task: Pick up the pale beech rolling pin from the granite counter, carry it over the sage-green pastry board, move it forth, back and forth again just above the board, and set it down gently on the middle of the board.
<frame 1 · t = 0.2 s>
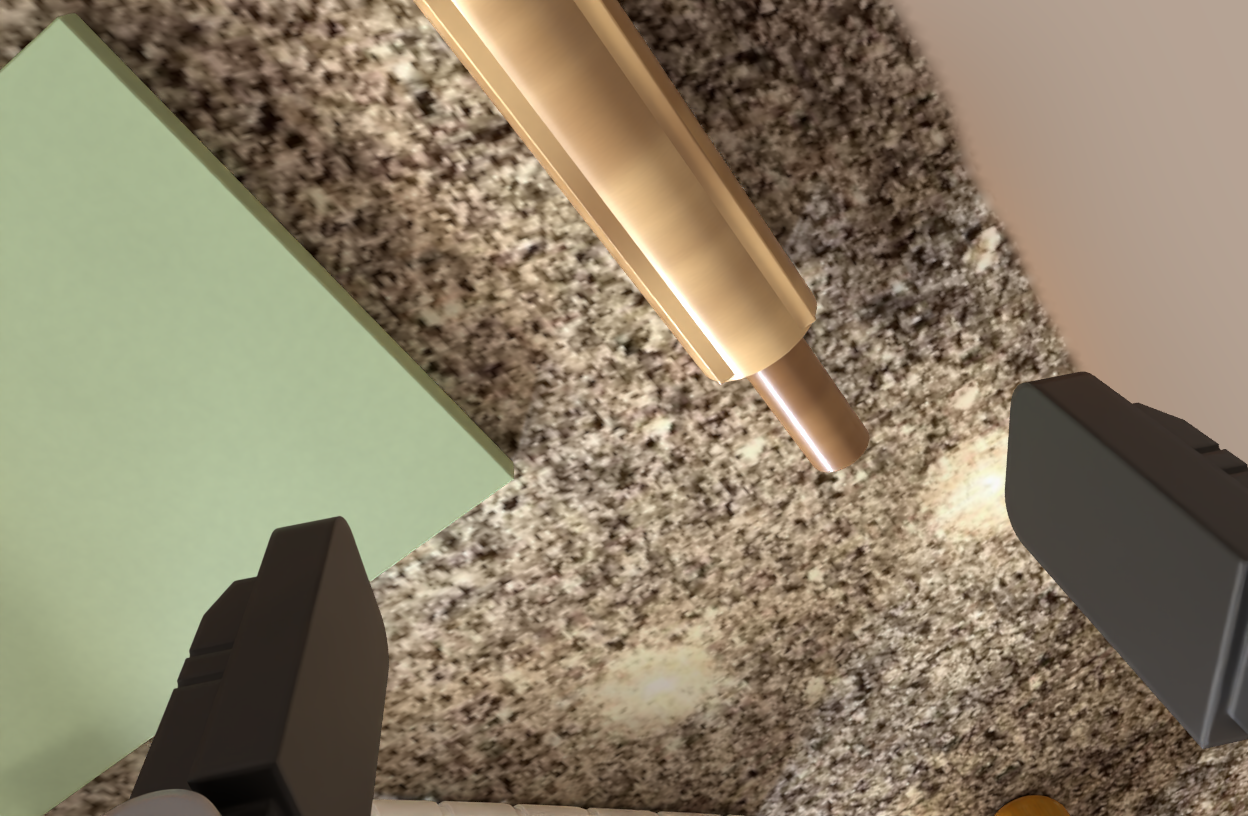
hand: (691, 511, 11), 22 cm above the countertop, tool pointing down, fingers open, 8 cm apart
pastry board: (21, 514, 34), on the countertop
rolling pin: (615, 132, 30), on the countertop
unicorn horn: (541, 815, 45), on the countertop
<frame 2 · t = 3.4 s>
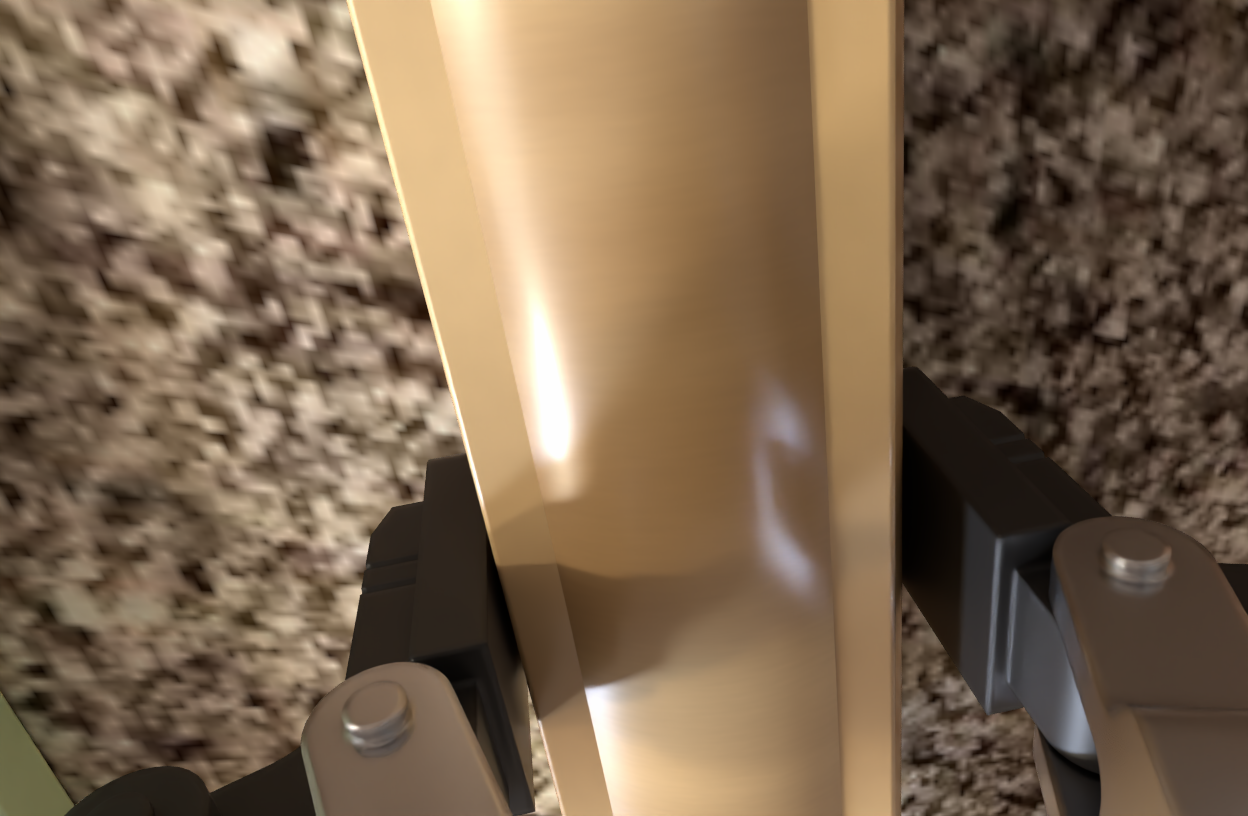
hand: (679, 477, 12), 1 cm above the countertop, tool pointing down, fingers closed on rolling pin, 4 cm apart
rolling pin: (692, 421, 13), on the countertop, tilted 10°, touching gripper
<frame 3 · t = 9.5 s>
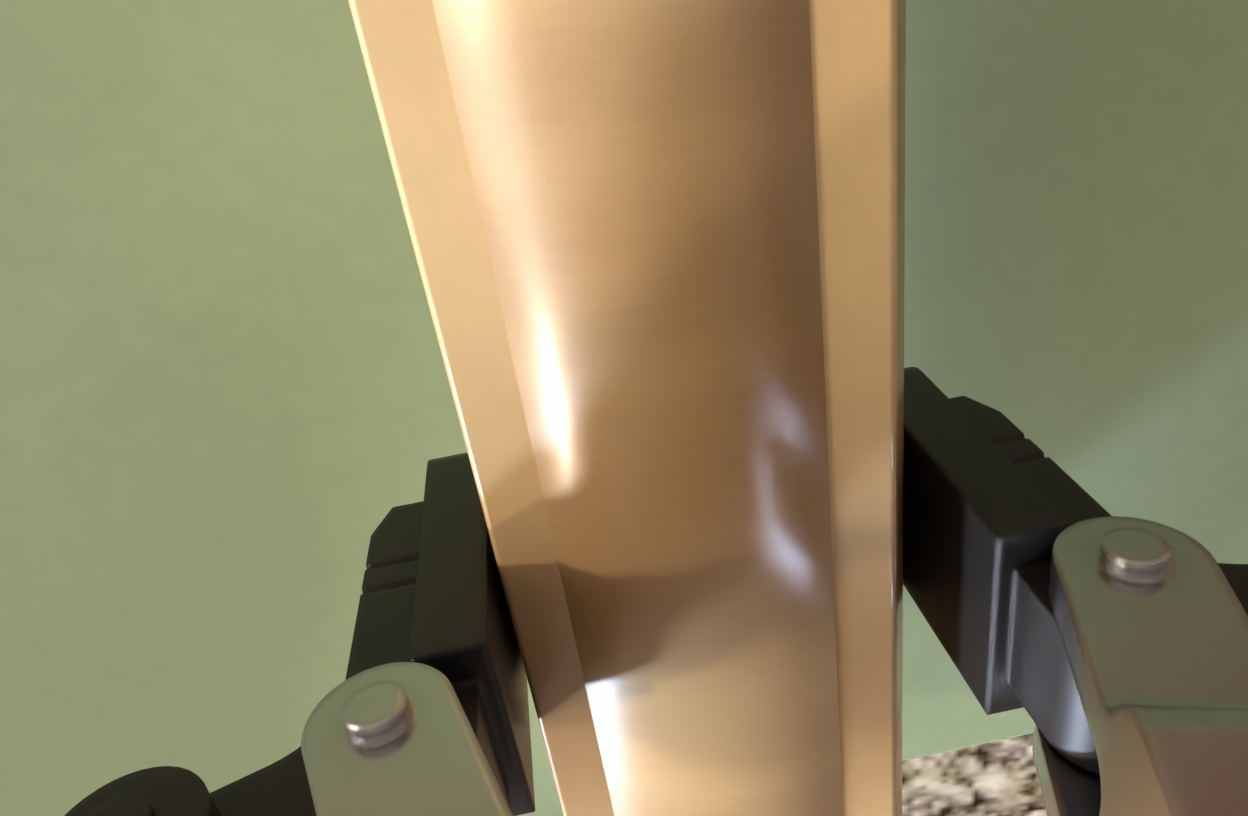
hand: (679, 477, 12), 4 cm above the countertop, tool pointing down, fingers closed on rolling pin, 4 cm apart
pastry board: (455, 376, 15), on the countertop
rolling pin: (694, 423, 13), point 3 cm above the countertop, tilted 10°, touching gripper
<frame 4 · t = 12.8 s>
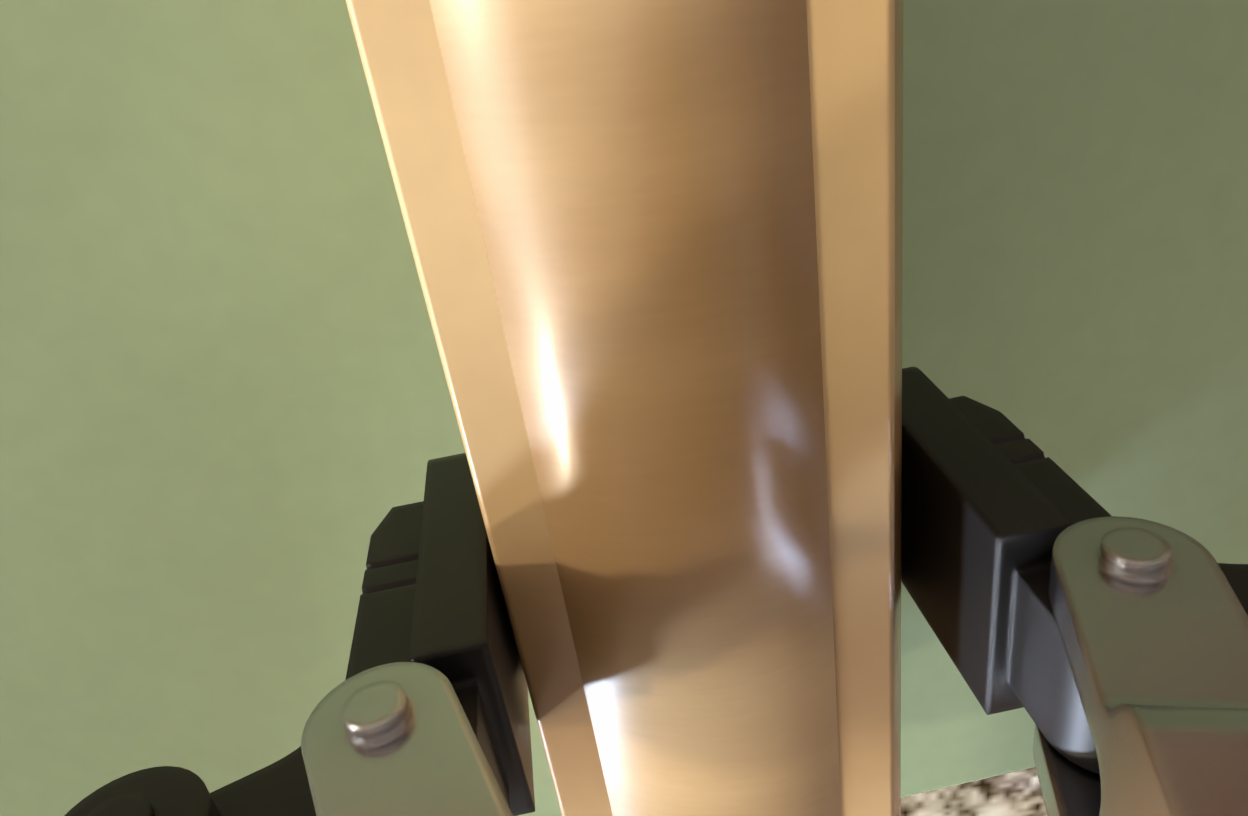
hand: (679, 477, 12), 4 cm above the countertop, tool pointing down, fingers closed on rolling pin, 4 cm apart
pastry board: (442, 418, 15), on the countertop
rolling pin: (692, 424, 13), point 2 cm above the countertop, tilted 11°, touching gripper
when the fingers open (2 cm above the countertop, at t = 15.6 s): rolling pin stays where it is, resting on pastry board.
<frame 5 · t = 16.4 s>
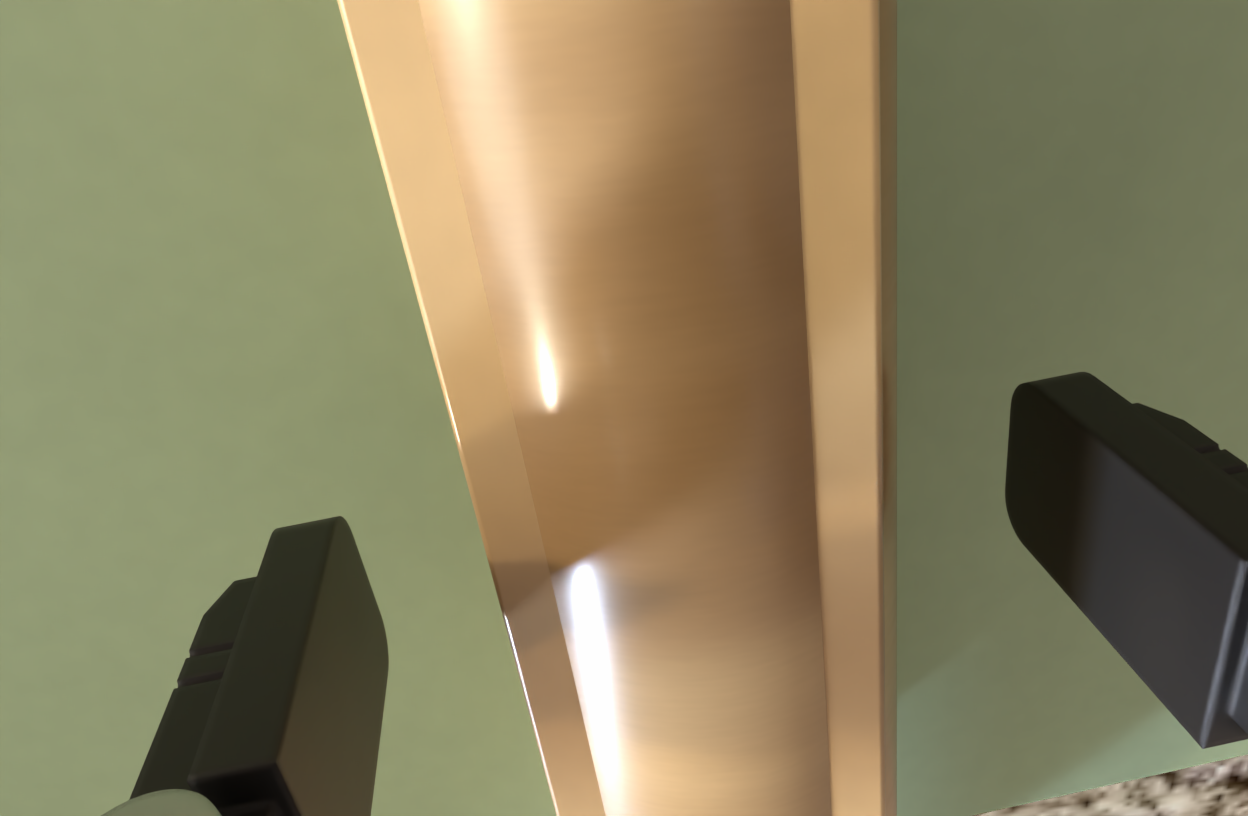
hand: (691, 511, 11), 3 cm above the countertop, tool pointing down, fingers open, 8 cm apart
pastry board: (684, 380, 14), on the countertop
rolling pin: (695, 417, 13), point 1 cm above the countertop, tilted 13°, touching pastry board
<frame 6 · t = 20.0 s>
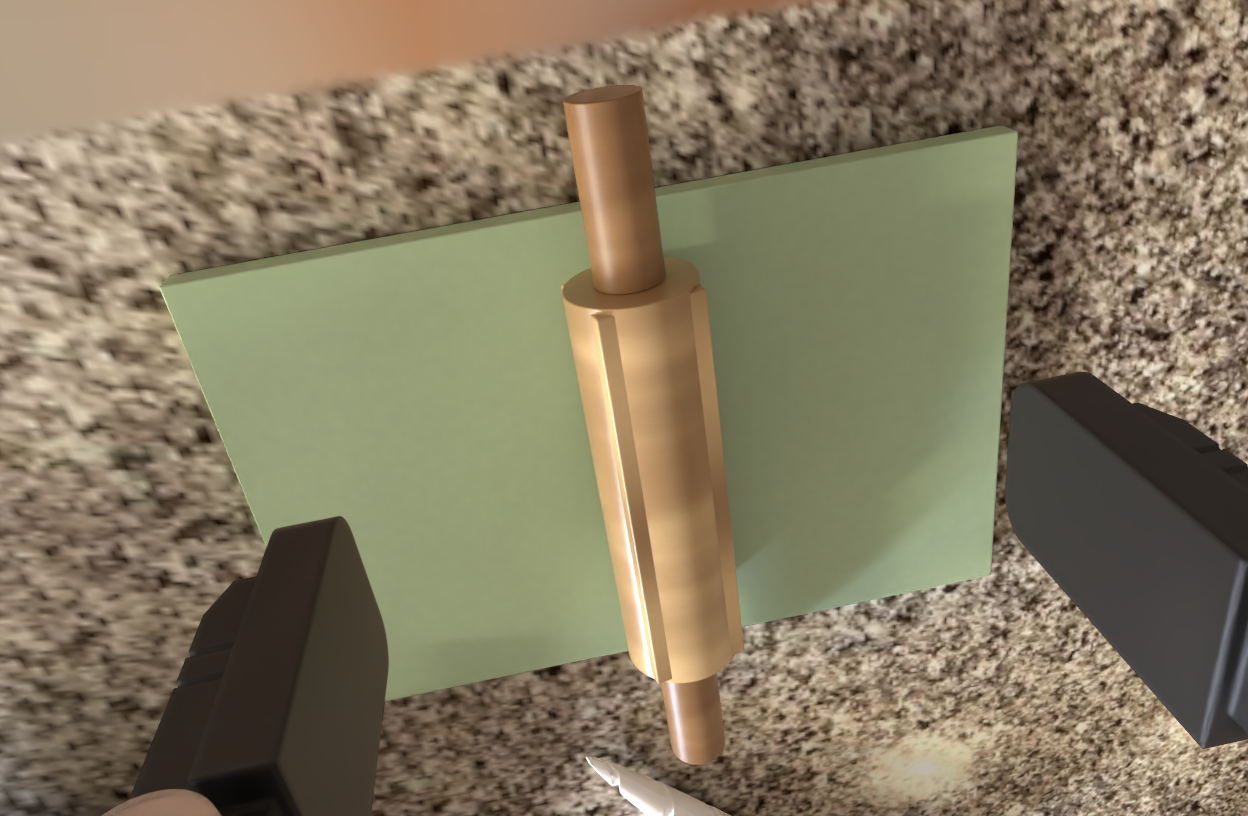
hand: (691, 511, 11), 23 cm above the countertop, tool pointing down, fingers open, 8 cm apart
pastry board: (634, 438, 37), on the countertop
rolling pin: (637, 453, 36), point 1 cm above the countertop, tilted 13°, touching pastry board
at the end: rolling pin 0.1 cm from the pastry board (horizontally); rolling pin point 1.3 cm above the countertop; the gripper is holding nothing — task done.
